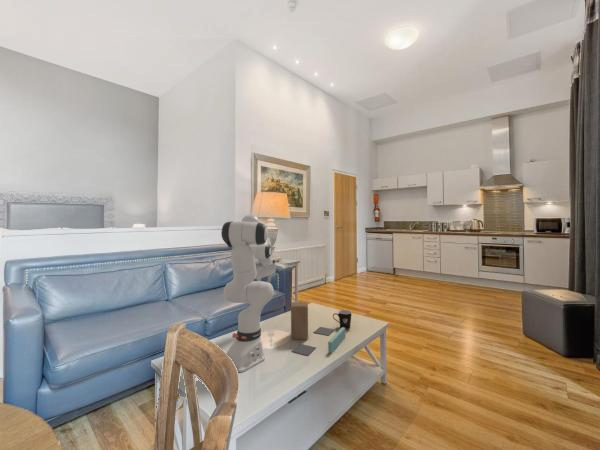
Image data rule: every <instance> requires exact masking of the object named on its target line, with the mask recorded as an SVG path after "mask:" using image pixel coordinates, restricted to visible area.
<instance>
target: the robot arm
mask: <svg viewBox="0 0 600 450" xmlns="http://www.w3.org/2000/svg"><path fill="white" fill-rule="evenodd" d="M220 235H221V239H222V241H223V242H224V243H225V244H227V245H226V246H227V247H228V248H231V253H230V259H231V260H230V261H231V262H230V263H231V266H232V272H233V273H232V274H233V277H232V280H230V281H229V282H228V283H226V285H225V286H224V287H223V298H224V299H225V301H226V302H229V303H234V304H249V306H248V307H247V308H244V309H243V310H241V311H240V312H239V314H238V315H237V316H238V317H237V321H238V322H237V323H238V324H237V326H238V327H237V330H236V333H235V332H234V333H232V335H231V336H232V338H235V339H234V341H233V343H232V344H231V345H230V347H229V348H228V350H227V351H226V355H228V356H229V357H230V358H231V359H232V361H233V362H234V364H235V366H236V368H237V371H238V372H237V373H243V372H246V371H247V370H250V369H251V368H253V367H255V366H257V365H258V364H260V363H262V362H264V361H265V360H266V358H265V356H264V349H263V347H264V346H263V341H262V340H261V339H262V338H261V336H262V329H261V315H262V311H263V309H264V307H265V305H267V304H268V303H269V302H271V300H272V299H273V297H274V293H275V290H274V286H273V285H272V283H271V281H272V277H273V275H275V274H276V271H277V267H276V261H277V260H276V259H273V258H272V254H273V247H272V242H271V238H270V237H269V230H268V226H266V225H265V223H262V222H261V221H260V219H259V218H258V217H257V216H256V215H255V214H254V215H253V214H248V215H245V216H244V217H243V218H242V219H241V221H239V220H237V221H233V220H232V221H228V222H224V223H223V225H222V227H221V234H220ZM256 260H257V262H256ZM265 277H268V278H267V280H266V281H262V278H265Z"/></svg>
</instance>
